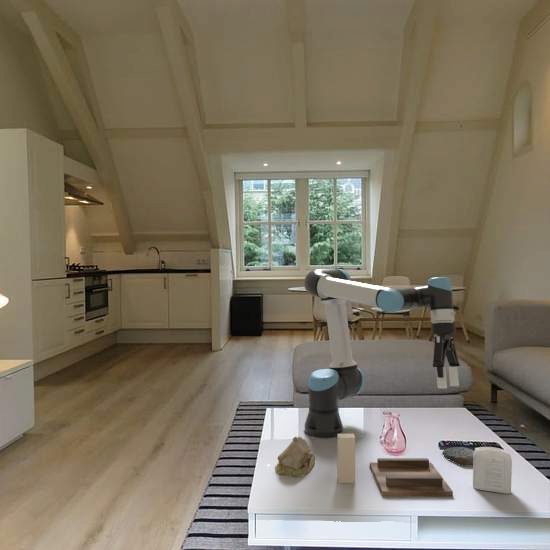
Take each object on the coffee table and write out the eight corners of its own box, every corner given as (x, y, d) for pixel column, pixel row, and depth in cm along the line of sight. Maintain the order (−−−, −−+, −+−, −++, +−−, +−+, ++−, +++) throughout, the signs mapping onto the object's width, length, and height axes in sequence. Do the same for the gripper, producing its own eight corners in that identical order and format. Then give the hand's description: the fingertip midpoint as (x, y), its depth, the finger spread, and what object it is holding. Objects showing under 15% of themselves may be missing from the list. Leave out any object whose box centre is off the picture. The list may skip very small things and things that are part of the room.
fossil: (469, 471, 141) (469, 459, 141) (436, 455, 152) (436, 444, 152) (488, 463, 146) (488, 452, 146) (455, 449, 157) (455, 438, 157)
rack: (369, 467, 143) (369, 454, 143) (431, 467, 143) (431, 454, 143) (382, 496, 125) (382, 482, 125) (452, 496, 125) (452, 482, 125)
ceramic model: (300, 481, 135) (300, 448, 134) (269, 472, 141) (269, 441, 140) (320, 463, 146) (320, 433, 146) (291, 455, 152) (291, 427, 152)
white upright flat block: (509, 488, 129) (510, 447, 129) (512, 495, 125) (513, 453, 125) (471, 483, 132) (472, 442, 132) (473, 490, 128) (474, 448, 128)
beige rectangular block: (337, 478, 136) (337, 433, 135) (353, 478, 136) (353, 433, 135) (338, 483, 133) (338, 437, 132) (355, 483, 133) (355, 437, 132)
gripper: (443, 319, 137) (449, 389, 133) (464, 324, 156) (470, 385, 152) (419, 321, 141) (424, 389, 137) (442, 325, 161) (448, 384, 157)
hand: (448, 387), depth 145 cm, fingers open, 13 cm apart
